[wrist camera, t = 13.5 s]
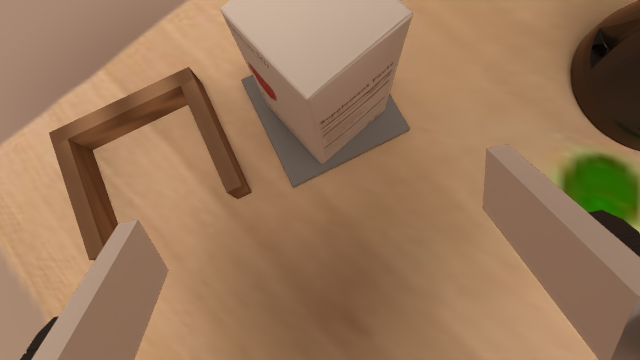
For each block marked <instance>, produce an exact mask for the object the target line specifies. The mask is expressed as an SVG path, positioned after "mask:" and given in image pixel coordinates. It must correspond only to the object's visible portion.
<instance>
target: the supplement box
mask: <svg viewBox="0 0 640 360" xmlns="http://www.w3.org/2000/svg"><path fill="white" fill-rule="evenodd" d="M221 12H222V14H223V16H224V18H225V21H226V23H227V25H228V27H229V29H230V31H231V33H232V35H233V37H234V39H235V41H236V43H237V45H238V47H239V49H240V51H241V53H242V55H243V57H244V59H245V61H246V63H247V65H248V67H249V69H250V71H251V73H252V75H253V77H254V79H255V81H256V83H257V85H258V87H259V89H260V91H261V93H262V95H263V97H264V99H265V101H266V103H267V105H268V107H269V108H270V109H271V110H272V111H273V112H274V114H275V115H276V116H277V117H278V118H279V119H280V120H281V121H282V122H283V123H284V125H285V126H286V127H287V128H288V129H289V130H290V131H291V132H292V133H293V134H294V135H295V137H296V138H297V139H298V140H299V141H300V142H301V143H302V144H303V145H304V146H305V147H306V148H307V150H308V151H309V152H310V153H311V154H312V155H313V156H314V157H315V158H316V159H317V160H318V161H319V162H320V163H321V164H324V163H325V162H326V161H327V160H329V159H330V158H331V157H332V156H333V155H334V154H335V153H337V152H338V151H339V150H340V149H341V148H342V147H343V146H345V145H346V144H347V143H348V142H349V141H350V140H351V139H353V138H354V137H355V136H356V135H357V134H358V133H359V132H361V131H362V130H363V129H364V128H365V127H366V126H367V125H369V124H370V123H371V122H372V121H373V120H374V119H375V118H376V117H378V116H379V115H380V114H381V113H382V112H383V111H384V110H385V108H386V104H387V100H388V97H389V93H390V90H391V86H392V83H393V79H394V76H395V72H396V69H397V65H398V62H399V58H400V55H401V52H402V48H403V44H404V41H405V37H406V34H407V31H408V28H409V25H410V21H411V19H412V16H413V12H412V11H411V10H410V9H409V8H408V7H407V6H406V5H404V4H403V3H402V2H401V1H400V0H230V1H228V2H227V3H226V4H225V5H224V6H222V7H221Z"/></svg>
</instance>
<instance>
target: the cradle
mask: <svg viewBox="0 0 640 360" xmlns="http://www.w3.org/2000/svg"><path fill="white" fill-rule="evenodd" d="M188 104H189V107H190V109H191V111H192V114H193V116H194V118H195V120H196V123H197V125H198V127H199V130H200V132H201V134H202V137H203V139H204V141H205V143H206V146H207V148H208V150H209V153H210V155H211V157H212V160H213V162H214V164H215V167H216V169H217V171H218V173H219V176H220V178H221V180H222V183H223V185H224V187H225V190H226V192H227V193H228V194H230V195H232V196H233V197H235V198H237V199H239V198H241V197H243V196H245V195H247V194H249V193H252V192H251V190H250V188H249V186H248V184H247V181H246V179H245V177H244V175H243V173H242V170H241V168H240V166H239V164H238V162H237V159H236V157H235V155H234V153H233V150H232V148H231V146H230V144H229V142H228V139H227V137H226V135H225V133H224V131H223V128H222V126H221V124H220V122H219V120H218V117H217V115H216V113H215V111H214V108H213V106H212V104H211V102H210V100H209V97H208V95H207V93H206V91H205V89H204V86H203V84H202V83H201V82H200V80H199V79H198V78H197V76H196V75H195V74H194V73H193V71H192V70H191V69H190V68H189V67H187V68H185V69H183V70H181V71H179V72H177V73H175V74H173V75H170V76H168V77H166V78H164V79H162V80H160V81H158V82H156V83H153V84H151V85H149V86H147V87H145V88H143V89H141V90H139V91H137V92H134V93H132V94H130V95H128V96H126V97H124V98H122V99H120V100H117V101H115V102H113V103H111V104H109V105H107V106H105V107H103V108H101V109H98V110H96V111H94V112H92V113H90V114H88V115H86V116H84V117H81V118H79V119H77V120H75V121H73V122H71V123H69V124H67V125H65V126H62V127H60V128H58V129H56V130H54V131H52V132H50V133H49V135H50V138H51V141H52V144H53V147H54V150H55V154H56V157H57V160H58V163H59V166H60V169H61V172H62V176H63V179H64V182H65V185H66V188H67V191H68V194H69V198H70V201H71V204H72V207H73V210H74V213H75V216H76V220H77V223H78V226H79V229H80V232H81V235H82V238H83V242H84V245H85V248H86V251H87V254H88V257H89V260H96V258H97V257H98V255H99V253H100V252H101V250H102V249H103V247H104V246H105V244H106V243H107V241H108V239H109V238H110V236H111V235H112V233H113V232H114V230H115V228H116V227H117V225H118V223H117V220H116V217H115V215H114V212H113V209H112V206H111V203H110V200H109V197H108V194H107V191H106V189H105V186H104V183H103V180H102V177H101V174H100V171H99V168H98V166H97V163H96V160H95V157H94V154H93V151H92V150H93V149H95V148H98V147H100V146H102V145H104V144H106V143H108V142H110V141H112V140H114V139H116V138H119V137H121V136H123V135H125V134H127V133H129V132H131V131H133V130H135V129H137V128H140V127H142V126H144V125H146V124H148V123H150V122H152V121H154V120H156V119H158V118H160V117H163V116H165V115H167V114H169V113H171V112H173V111H175V110H177V109H179V108H181V107H184V106H186V105H188Z"/></svg>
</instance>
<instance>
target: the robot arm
mask: <svg viewBox="0 0 640 360" xmlns="http://www.w3.org/2000/svg"><path fill="white" fill-rule="evenodd" d="M571 75H572V85H573V89H574V92H575V95H576V98H577V100H578V102H579V104H580V106H581V108H582V110H583V111H584V112H585V114H586V115H587V116H588V118H589V119H590V120H591V121H592V122H593V123H594V124H595V125H596V126H597V127H598V128H599V129H600V130H601V131H602V132H604V133H605V134H606V135H608V136H609V137H611V138H612V139H614V140H616V141H618V142H619V143H621V144H623V145H626V146H628V147H631V148H633V149H636V150H640V0H638V1H636V2H634V3H632V4H630V5H628V6H626V7H623V8H621V9H619V10H618V11H616V12H614V13H613V14H611V15H610V16H608V17H607V18H605V19H604V20H603V21H602V22H601V23H600V24H599V25H598V26H596V27H595V28H594V29H593V30H592V31H591V32H590V33H589V34H588V35H587V36H586V37H585V38H584V39H583V41H582V42H581V43H580V45H579V47H578V49H577V50H576V53H575V55H574V59H573V63H572V72H571ZM483 209H484V210H485V212H486V213H487V214H488V216H489V217H490V218H491V220H492V221H493V222H494V224H495V225H496V226H497V227H498V229H499V230H500V231H501V233H502V234H503V235H504V237H505V238H506V239H507V240H508V242H509V243H510V244H511V246H512V247H513V248H514V250H515V251H516V252H517V254H518V255H519V256H520V257H521V259H522V260H523V261H524V263H525V264H526V265H527V267H528V268H529V269H530V270H531V272H532V273H533V274H534V276H535V277H536V278H537V280H538V281H539V282H540V284H541V285H542V286H543V287H544V289H545V290H546V291H547V293H548V294H549V295H550V297H551V298H552V299H553V300H554V302H555V303H556V304H557V306H558V307H559V308H560V310H561V311H562V312H563V314H564V315H565V316H566V317H567V319H568V320H569V321H570V323H571V324H572V325H573V327H574V328H575V329H576V330H577V332H578V333H579V334H580V336H581V337H582V338H583V340H584V341H585V342H586V344H587V345H588V346H589V347H590V349H591V350H592V351H593V353H594V354H595V355H596V357H597V358H598V359H599V360H640V233H639V232H638V231H637V230H636V229H634V228H633V227H632V226H631V225H629V224H628V223H627V222H626V221H624V220H623V219H621V218H618V217H616V216H614V215H612V214H610V213H607V212H605V211H603V210H599V211H594V212H589V213H588V212H586V211H585V210H584V209H583V208H582V207H581V206H579V205H578V204H577V203H576V202H575V201H574V200H572V199H571V198H570V197H569V196H568V195H567V194H565V193H564V192H563V191H562V190H561V189H560V188H558V187H557V186H556V185H555V184H554V183H553V182H551V181H550V180H549V179H548V178H547V177H546V176H544V175H543V174H542V173H541V172H540V171H539V170H538V169H536V168H535V167H534V166H533V165H532V164H531V163H529V162H528V161H527V160H526V159H525V158H524V157H522V156H521V155H520V154H519V153H518V152H517V151H515V150H514V149H513V148H512V147H511V146H510V145H508V144H505V145H500V146H495V147H491V148H487V149H486V165H485V181H484V196H483ZM168 271H169V270H168V268H167V266H166V265H165V263H164V261H163V260H162V258H161V256H160V255H159V253H158V251H157V250H156V248H155V247H154V245H153V243H152V242H151V240H150V238H149V237H148V235H147V233H146V232H145V230H144V228H143V227H142V225H141V223H140V222H139V220H133V221H128V222H123V223H119V224H118V225H117V227H116V228H115V230H114V232H113V233H112V235H111V236H110V238H109V239H108V241H107V243H106V244H105V246H104V247H103V249H102V250H101V252H100V253H99V255H98V257H97V258H96V260H95V261H94V263H93V264H92V266H91V267H90V269H89V271H88V272H87V274H86V275H85V277H84V278H83V280H82V282H81V283H80V285H79V286H78V288H77V289H76V291H75V292H74V294H73V296H72V297H71V299H70V300H69V302H68V303H67V305H66V306H65V308H64V310H63V311H62V313H61V314H60V316H58V317H54V318H53V319H52V320H51V321H50V322H49V323H48V324H47V325H46V326H45V327H44V328H43V329H42V330H41V331H40V332H39V333H38V334H37V335H36V337H35V338H34V340H33V341H32V343H31V344H30V346H29V347H28V349H27V353H26V354H24V355H23V357H22V358H21V359H20V360H134V359H135V356H136V353H137V351H138V348H139V346H140V343H141V341H142V338H143V335H144V333H145V330H146V328H147V325H148V322H149V320H150V317H151V315H152V312H153V309H154V307H155V304H156V302H157V299H158V297H159V294H160V291H161V289H162V286H163V284H164V281H165V278H166V276H167V273H168Z"/></svg>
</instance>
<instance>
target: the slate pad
mask: <svg viewBox="0 0 640 360" xmlns="http://www.w3.org/2000/svg"><path fill="white" fill-rule="evenodd" d="M241 81H242V83H243V85H244V87H245V89H246V91H247V93H248V95H249V97H250V99H251V101H252V103H253V105H254V107H255V110H256V112H257V114H258V116H259V118H260V120H261V122H262V124H263V126H264V128H265V130H266V132H267V134H268V136H269V138H270V140H271V143H272V145H273V147H274V149H275V151H276V153H277V155H278V157H279V159H280V161H281V163H282V165H283V167H284V169H285V171H286V174H287V176H288V178H289V180H290V182H291V184H292V186H293V188H294V187H296V186H298V185H300V184H303V183H305V182H307V181H309V180H311V179H313V178H315V177H317V176H319V175H321V174H323V173H325V172H327V171H329V170H331V169H333V168H335V167H337V166H339V165H341V164H343V163H345V162H347V161H349V160H351V159H353V158H355V157H357V156H359V155H361V154H363V153H365V152H367V151H369V150H371V149H373V148H375V147H377V146H379V145H381V144H383V143H385V142H387V141H390V140H392V139H394V138H396V137H398V136H400V135H402V134H404V133H406V132H408V131H409V130H410V128H409V126H408V124H407V123H406V121H405V119H404V118H403V116H402V114H401V112H400V111H399V109H398V107H397V106H396V104H395V102H394V101H393V99H392V97H391V96H390V94H389V97H388V100H387V104H386V108H385V110H384V111H383V112H382V113H381V114H380V115H379V116H378V117H376V118H375V119H374V120H373V121H372V122H371V123H370V124H369V125H367V126H366V127H365V128H364V129H363V130H362V131H361V132H359V133H358V134H357V135H356V136H355V137H354V138H353V139H351V140H350V141H349V142H348V143H347V144H346V145H345V146H343V147H342V148H341V149H340V150H339V151H338V152H337V153H335V154H334V155H333V156H332V157H331V158H330V159H329V160H327V161H326V162H325V163H324V164H321V163H320V162H319V161H318V160H317V159H316V158H315V157H314V156H313V155H312V154H311V153H310V152H309V151H308V150H307V148H306V147H305V146H304V145H303V144H302V143H301V142H300V141H299V140H298V139H297V138H296V137H295V135H294V134H293V133H292V132H291V131H290V130H289V129H288V128H287V127H286V126H285V125H284V123H283V122H282V121H281V120H280V119H279V118H278V117H277V116H276V115H275V114H274V112H273V111H272V110H271V109H270V108H269V107H268V105H267V103H266V101H265V99H264V97H263V95H262V93H261V91H260V89H259V87H258V85H257V83H256V81H255V79H254V77H253V75H251V76H249V77H247V78H244V79H242V80H241Z"/></svg>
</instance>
